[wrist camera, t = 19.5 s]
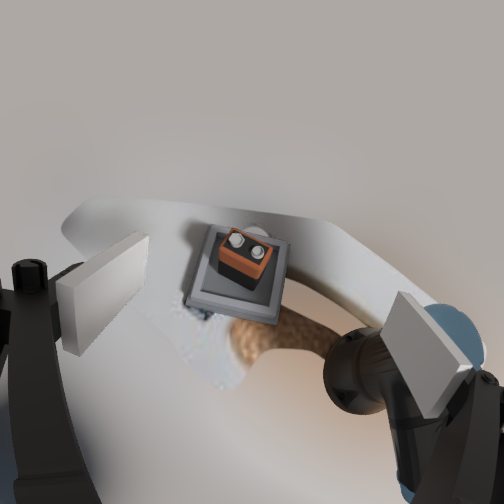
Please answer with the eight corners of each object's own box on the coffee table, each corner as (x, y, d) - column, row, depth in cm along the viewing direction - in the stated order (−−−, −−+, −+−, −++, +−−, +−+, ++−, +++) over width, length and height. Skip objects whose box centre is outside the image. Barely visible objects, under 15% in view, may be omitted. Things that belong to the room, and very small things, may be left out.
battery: (229, 253, 51) (233, 222, 43) (264, 271, 51) (275, 243, 42) (216, 273, 50) (217, 245, 41) (252, 293, 49) (261, 268, 40)
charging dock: (276, 326, 48) (279, 321, 45) (186, 305, 47) (184, 299, 45) (289, 246, 55) (292, 238, 52) (208, 228, 54) (208, 219, 52)
